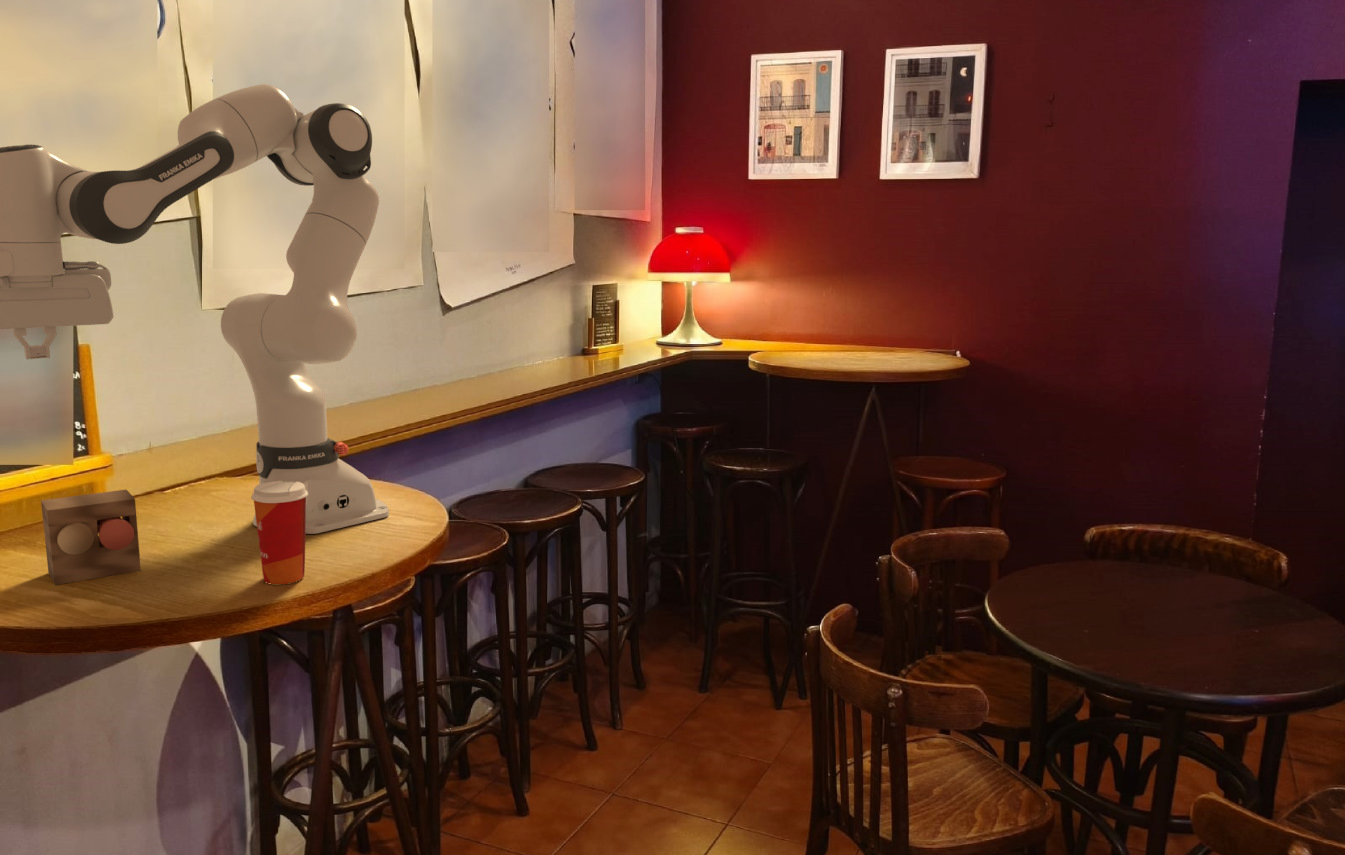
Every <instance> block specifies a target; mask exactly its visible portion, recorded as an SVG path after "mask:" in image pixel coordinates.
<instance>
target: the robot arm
mask: <svg viewBox="0 0 1345 855" xmlns="http://www.w3.org/2000/svg"><path fill="white" fill-rule="evenodd" d="M177 142H178V145H177V146H175V147H174V148H172V149H170V150H169V151H167V152H165V153H163V154H161V155H160V156H158V157H156V158H154V159H152V160H150V161H149V162H147V163H145V164H143V165H141V166H140V167H137V168H135V169H131V170H107V171H106V170H103V171H87V170H86V169H84V168H81V167H80V166H79V167H78V166H76V165H73V163H70V162H67V161H65V160H63V159H61V158H60V157H58V156H56V155H55V154H53V153H51V152H49V151H48V150H47V149H46V148H45V147H44V146H43V145H39V144H22V145H21V144H20V145H10V146H8V145H7V146H2V147H0V330H10V329H11V330H12V331H13V332H12V333H13V336H14V337H15V338H16V339H17V340H18V342H19V343H20V345H22V347H23V348H24V357H25V359H26V360H38V359H40V360H41V359H50V358H51V350H50V347H51V346H52V343H53V341H55V338H56V336H57V327H74V326H92V325H93V326H95V325H108V324H110V323H111V322H112V321H113V319H114V312H113V310H114V309H113V305H112V304H113V303H112V300H111V296H110V292H109V290H110V289H111V286H112V278H111V275H112V274H111V271H110V270H109V269H108V267H106V266H105V265H103V264H101V263H99V262H98V261H93V260H92V261H85V262H84V261H64V260H63V251H62V248H63V247H62V240H61V237H62V235H64V234H68V235H69V234H70V235H72V236H74V237H80V238H86V239H91V240H98V241H102V242H105V243H107V244H108V243H109V244H112V245H113V244H114V245H124V244H128V243H133V242H134V241H136V240H139V239H141V237H143V236H144V235H145V234H146V233H148V231H150V229H151V228H152V226H153V225H154V223H155V222H156V221H157V219H158V218H159V216H160V215H161V214H162V213H163V212H164V211H165V210H166V209H167V208H168V207H170V206H171V205H173V204H175V203H176V202H178V201H180V200H181V199H183V198H185V197H186V196H188V195H189V194H191V193H193V192H194V191H196V190H198V189H200V188H201V187H204V185H207V184H208V183H210V182H211V181H212V180H216V179H218V178H221V177H225V176H226V175H230V174H233V173H235V172H238V171H240V170H242V169H244V168H247V167H249V166H250V165H252V164H254V163H256V162H258V161H260V160H262V159H263V158H265V157H266V158H268V159H269V161H271V162H272V163H273V164H274V166H275V167H276V169H277V170H278V172H279V173H280V174H282V176H284V178H286V179H287V180H288V181H290V182H291V183H293V184H295V185H298V186H304V187H305V186H309V187H310V186H313V196H312V199H311V201H312V202H311V204H310V205H309V206H308V209H307V210H306V212H305V213H304V215H303V217H302V220H301V222H300V224H299V225H298V227H297V230H296V232H295V234H294V236H293V237H292V240H291V242H290V244H289V245H288V248H287V250H286V262H287V265H288V266H289V268H290V270H291V271H292V272H293V279H292V284H291V288H290V289H289V291H288V292H287V294H276V293H266V292H264V293H263V292H260V293H259V292H256V293H253V294H248V295H243V296H237V297H236V298H234V299H232V300H231V301H230V302H228V304H227V305H226V306H225V308H224V309H223V311H222V314H221V318H220V329H221V333H222V337H223V338H224V340H225V342H226V343H227V345H229V346H230V347H231V348H232V350H234V352H235V353H236V354H237V355H238V357H239V359H240V361H241V362H242V365H243V367H244V370H245V371H246V373H247V376H248V379H249V381H250V384H251V388H252V392H253V395H254V399H255V409H256V410H255V411H256V418H257V419H256V420H257V433H258V441H257V442H256V444H255V445H256V447H255V448H256V452H255V462H256V471H257V475H258V476H259V478H258V480H259V481H258V485H260V484H263V483H267V482H273V481H283V482H285V481H293V482H294V483H296V482H301V483H303V484H304V486H305V489H306V491H307V492H308V495H307V496H306V528H305V534H310V535H312V534H313V535H314V534H315V535H316V534H320V533H323V532H329V531H332V530H333V531H334V530H338V529H341V528H346V527H350V526H354V525H358V524H362V523H366V522H367V523H368V522H371V521H374V520H376V521H377V520H379V519H382V518H383V519H384V518H387V517H388V516H389V515H390V511H389V506H388V505H387V504H386V503H384V502H383V501H382V500H380V499H378V498H376V495H375V491H374V487H373V484H372V482H371V481H370V479H369V478H368V477H367V476H366V475H365V474H363V473H362V472H360V471H358V470H357V469H356V468H355V467H353V466H352V465H350V464H348V463H347V462H345V461H343V460H342V459H340V458H339V456H345V455H347V454H348V453H349V450H350V448H349V446H348V445H347V444H346V443H344V442H342V441H339V442H338V441H336V440H333V439H331V438H329V437H328V422H327V421H328V418H327V399H326V396H325V394H324V392H323V390H322V389H321V388H320V387H319V386H318V385H317V384H316V382H314V380H313V379H312V377H311V375H310V373H309V371H308V369H307V366H306V364H307V365H322V364H323V365H324V364H330V363H335V362H340V361H342V360H344V359H345V358H346V357H347V356H349V355H350V353H351V352H352V351H353V349H354V347H355V344H356V340H357V335H358V334H357V332H358V331H357V325H356V321H355V318H354V317H353V314H352V313H351V311H350V309H349V306H348V292H349V287H350V283H351V280H352V277H353V275H354V272H355V269H356V267H357V265H358V263H359V261H360V258H361V256H362V254H363V253H364V252H363V251H364V249H365V248H366V245H367V243H368V240H369V238H370V236H371V233H372V230H373V227H374V224H375V222H376V221H375V220H376V217H377V214H378V210H379V204H380V196H379V194H378V191H377V189H376V188H375V186H374V185H373V184H372V182H370V181H369V180H368V179H366V178H365V177H364V175H366V174H367V173H368V171H369V170H370V169H371V166H372V160H371V159H372V158H371V153H372V152H371V151H372V146H373V134H372V129H371V125H370V123H369V121H368V119H367V117H365V115H364V114H363V113H362V112H361V111H360V110H359V109H357V108H356V107H354V106H353V105H350V104H347V103H346V104H345V103H340V102H339V103H337V102H336V103H335V102H334V103H328V104H323V105H322V106H320V107H319V106H318V107H317V108H316V109H315V110H313V111H310V112H308V113H306V114H304V112H301V111H299V110H298V109H296V107H295V106H294V104H293V103H292V101H291V99H290V98H289V97H288V96H287V95H286V93H285V92H284V91H282V90H281V89H279V87H278V88H277V87H276V86H274V85H272V84H264V83H263V84H257V85H253V86H252V85H251V86H248V87H243V88H240V89H237V90H234V91H230V92H228V93H225V94H223V95H221V96H218V97H216V98H214V99H212V100H209V101H208V102H205V103H203V104H202V105H200V106H198V107H197V108H195V109H194V110H192V111H190V112H189V113H188V114H187V115H186V116H185V117H183V118H182V119H181V120H180V122H179V124H178V128H177ZM32 328H33V329H35V328H42V333H43V334H45V335H46V336H45V337H44V340H43V342H42V344H39V345H38V344H37V345H30V344H29V342H27V341H26V339H25V338H24V337H27V335H28V333H27V329H32ZM252 524H253V526H255V527H256V528H257V523H256V514H255V513H254V516H253V520H252Z"/></svg>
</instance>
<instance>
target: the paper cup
mask: <svg viewBox="0 0 1345 855" xmlns="http://www.w3.org/2000/svg"><path fill="white" fill-rule="evenodd" d="M307 495H308V492H307V491H306V489H305V486H304V484H303V483H301V482H296V483H294V482H293V481H285V482H283V481H273V482H267V483H263V484H260V485H259V484H257V485H256V486H254V488H253V493H252V494H251V496H250V498H251V500H252V501H253V506H254V515H255V514H256V523H257V527H256V530H257V537H258V546H259V547H258V548H259V554H260V555H259V556H260V563H261V570H262V576H263V580H264V583H265V582H267V583H271V584H278V585H277V586H280V585H279V584H283V585H282V586H284V584H287V585H289V584H288V583H293V582H296V581H299V580H301V579H302V578H303V577H304V578H305V572H306V571H305V567H306V566H305V565H306V564H305V563H306V533H305V528H306V496H307ZM304 578H303V579H304ZM303 579H302V580H303ZM302 580H301V581H302ZM299 582H300V581H299ZM267 583H266V584H267ZM296 583H297V582H296ZM271 584H270V585H271ZM293 584H294V583H293Z"/></svg>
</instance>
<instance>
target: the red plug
mask: <svg viewBox="0 0 1345 855" xmlns="http://www.w3.org/2000/svg"><path fill="white" fill-rule="evenodd" d="M97 528H98V536H99V540H100V542H101V543H102V544H103V545H104V546H105V547H106V548H108V549H111V550H119V549H123V548H125V547H127V546H128V545H129V544H130V543H131V542H132V540H133V538H134V530H133V527H132V526H131V525H130V524H129V523H128V522H127V521H125V520H122V517H115V518H108V519H101V520H97Z"/></svg>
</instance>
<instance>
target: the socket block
mask: <svg viewBox="0 0 1345 855" xmlns="http://www.w3.org/2000/svg"><path fill="white" fill-rule="evenodd" d="M40 505H41V513H42V523H43V532H44V541H45V542H44V543H45V552H46V562H47V571H48V574H49V577H50V578H51V581H52V582H53V585H54V586H58V585H63V584H68V583H75V582H81V581H86V580H92V579H98V578H103V577H109V576H115V575H121V574H127V573H131V572H132V573H133V572H137V571H138V572H139V571H142V569H141V567H142V566H141V557H140V556H141V555H140V544H139V531H138V530H139V529H138V520H137V518H138V517H137V508H136V498H135V497H134V496H133V495H132V494H131V493H130V492H129V491H128V490H127V489H118V490H113V491H103V492H97V493H96V492H95V493H88V494H81V495H74V496H73V495H71V496H67V497H66V496H64V497H58V498H57V497H56V498H50V499H49V498H48V499H42V500H40ZM115 517H121V519H122V520H125V521H127V522H128V523H129V524H130V525H131V526H132V527H133V530H134V538H133V540H132V542H131V543H130V544H129V545H128V546H127V547H125V548H123V549H119V550H111V549H108V548H106V547H105V546H104V545H103V544H102V543H101V542H100V540H99V533H98V528H97V520H101V519H108V518H115Z"/></svg>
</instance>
